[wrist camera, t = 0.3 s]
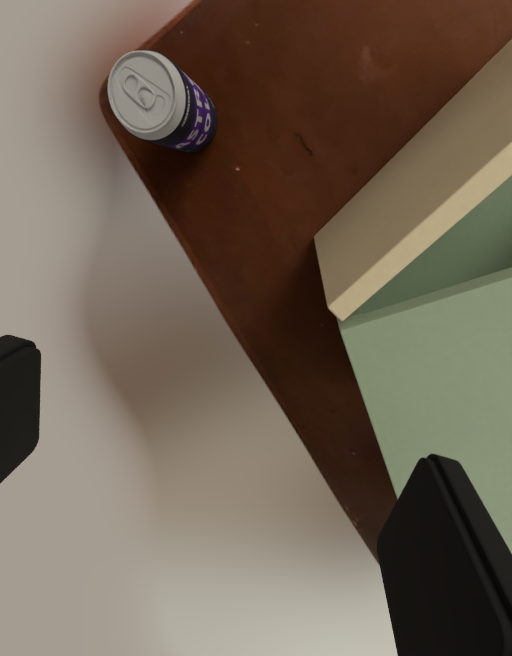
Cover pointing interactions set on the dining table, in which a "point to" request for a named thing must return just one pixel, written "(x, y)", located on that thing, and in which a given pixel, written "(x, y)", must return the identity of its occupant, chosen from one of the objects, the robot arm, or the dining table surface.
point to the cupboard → (445, 356)
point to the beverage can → (160, 102)
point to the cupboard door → (421, 190)
